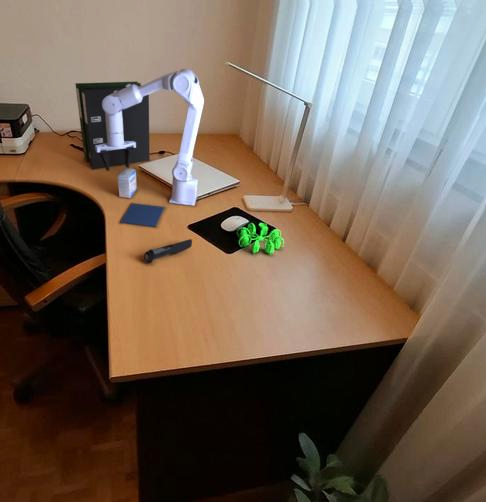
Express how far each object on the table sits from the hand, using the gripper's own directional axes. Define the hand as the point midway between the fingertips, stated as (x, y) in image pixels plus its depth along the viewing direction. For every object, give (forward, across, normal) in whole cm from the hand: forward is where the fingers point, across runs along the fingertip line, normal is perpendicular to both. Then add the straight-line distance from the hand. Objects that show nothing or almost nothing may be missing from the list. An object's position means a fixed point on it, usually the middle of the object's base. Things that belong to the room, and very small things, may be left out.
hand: (117, 168), depth 129 cm
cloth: (+10, -1, +20) cm, 22 cm away
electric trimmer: (+10, +1, +45) cm, 46 cm away
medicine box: (+10, -3, +2) cm, 11 cm away
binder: (+10, -11, -33) cm, 36 cm away
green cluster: (+10, -27, +52) cm, 60 cm away
